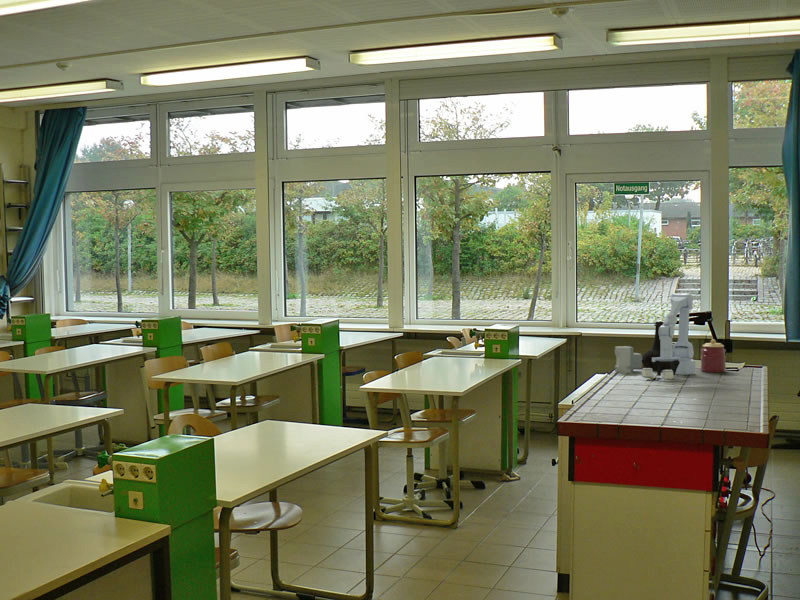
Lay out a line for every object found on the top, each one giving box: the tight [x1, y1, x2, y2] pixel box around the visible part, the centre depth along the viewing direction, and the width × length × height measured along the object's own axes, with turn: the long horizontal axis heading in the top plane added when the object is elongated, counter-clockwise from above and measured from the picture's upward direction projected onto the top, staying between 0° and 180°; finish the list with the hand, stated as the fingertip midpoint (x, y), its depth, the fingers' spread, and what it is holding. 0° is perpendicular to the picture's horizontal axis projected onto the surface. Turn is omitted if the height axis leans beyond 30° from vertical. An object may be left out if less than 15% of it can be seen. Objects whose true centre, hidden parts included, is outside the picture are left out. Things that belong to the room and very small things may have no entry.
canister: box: [700, 338, 727, 373], centre depth 449 cm, size 13×13×18 cm
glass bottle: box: [642, 321, 673, 372], centre depth 449 cm, size 18×18×28 cm
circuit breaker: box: [614, 345, 644, 374], centre depth 441 cm, size 8×14×15 cm, turn 89°
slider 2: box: [661, 370, 674, 380], centre depth 414 cm, size 4×4×4 cm
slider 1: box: [641, 367, 654, 378], centre depth 422 cm, size 4×4×4 cm
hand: (666, 375), depth 414 cm, fingers open, 7 cm apart
